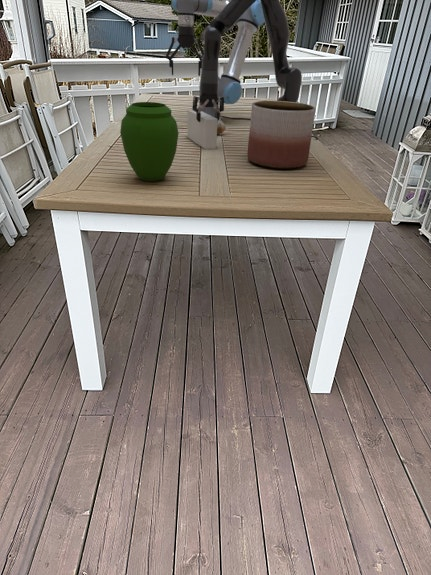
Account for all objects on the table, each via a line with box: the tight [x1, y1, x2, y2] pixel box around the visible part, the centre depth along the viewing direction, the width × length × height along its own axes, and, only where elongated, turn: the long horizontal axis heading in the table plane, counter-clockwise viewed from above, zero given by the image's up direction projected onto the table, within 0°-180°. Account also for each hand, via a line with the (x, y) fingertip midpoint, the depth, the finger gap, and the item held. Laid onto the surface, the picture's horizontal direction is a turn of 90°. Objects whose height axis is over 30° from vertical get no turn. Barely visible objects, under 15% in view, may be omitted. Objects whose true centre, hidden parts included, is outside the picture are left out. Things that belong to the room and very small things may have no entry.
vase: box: [119, 101, 179, 182], centre depth 140 cm, size 20×20×24 cm
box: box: [186, 109, 218, 150], centre depth 194 cm, size 24×6×13 cm, turn 22°
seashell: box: [217, 118, 227, 135], centre depth 211 cm, size 10×6×8 cm, turn 97°
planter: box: [246, 100, 317, 170], centre depth 167 cm, size 25×25×22 cm
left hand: (185, 75), depth 209 cm, fingers open, 13 cm apart
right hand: (207, 121), depth 185 cm, fingers open, 8 cm apart
